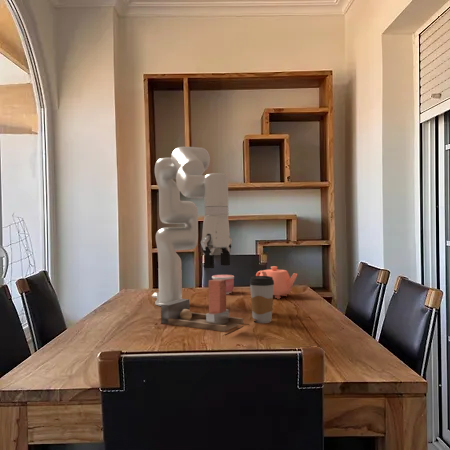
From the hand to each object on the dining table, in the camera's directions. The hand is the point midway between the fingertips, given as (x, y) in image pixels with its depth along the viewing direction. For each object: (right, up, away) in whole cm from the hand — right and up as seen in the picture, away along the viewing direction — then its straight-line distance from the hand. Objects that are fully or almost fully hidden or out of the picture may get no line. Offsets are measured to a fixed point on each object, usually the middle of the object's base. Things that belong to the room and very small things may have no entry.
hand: (217, 266), depth 143 cm
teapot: (+24, -19, +57) cm, 65 cm away
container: (+1, -19, +69) cm, 72 cm away
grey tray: (-5, -20, +4) cm, 21 cm away
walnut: (-11, -19, +7) cm, 23 cm away
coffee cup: (+15, -20, +11) cm, 27 cm away
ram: (0, -18, +1) cm, 18 cm away
